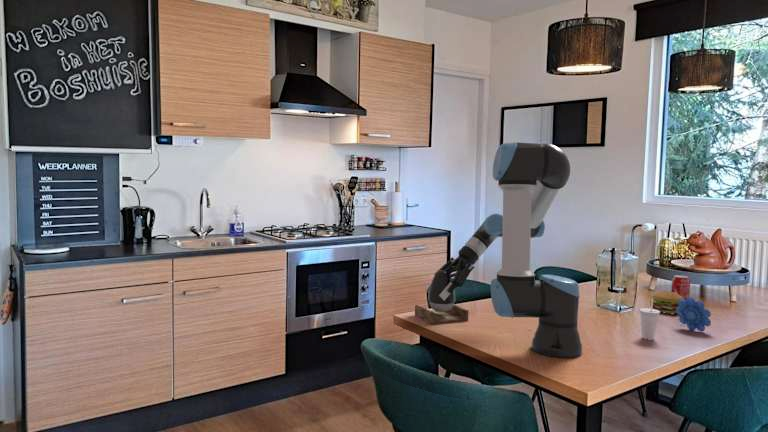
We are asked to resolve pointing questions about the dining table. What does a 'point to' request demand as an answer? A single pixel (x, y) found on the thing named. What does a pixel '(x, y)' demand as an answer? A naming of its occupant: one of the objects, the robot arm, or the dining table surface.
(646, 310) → the smoothie
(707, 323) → the blue gear
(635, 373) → the dining table surface
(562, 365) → the dining table surface
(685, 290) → the soda can
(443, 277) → the pump dispenser
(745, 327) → the dining table surface
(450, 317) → the track
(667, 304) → the food
